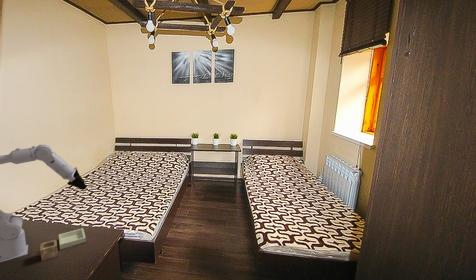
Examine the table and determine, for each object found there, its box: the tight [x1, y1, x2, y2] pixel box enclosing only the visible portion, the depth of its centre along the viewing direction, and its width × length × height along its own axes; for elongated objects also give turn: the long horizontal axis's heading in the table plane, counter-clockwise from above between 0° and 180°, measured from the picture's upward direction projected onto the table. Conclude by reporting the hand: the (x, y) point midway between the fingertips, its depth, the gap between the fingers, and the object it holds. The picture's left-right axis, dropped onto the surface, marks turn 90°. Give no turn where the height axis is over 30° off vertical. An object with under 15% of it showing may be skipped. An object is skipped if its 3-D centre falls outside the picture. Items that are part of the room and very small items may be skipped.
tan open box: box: [35, 239, 59, 262], centre depth 99 cm, size 7×5×5 cm
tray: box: [58, 227, 87, 251], centre depth 110 cm, size 10×10×2 cm
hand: (84, 186), depth 112 cm, fingers open, 7 cm apart
